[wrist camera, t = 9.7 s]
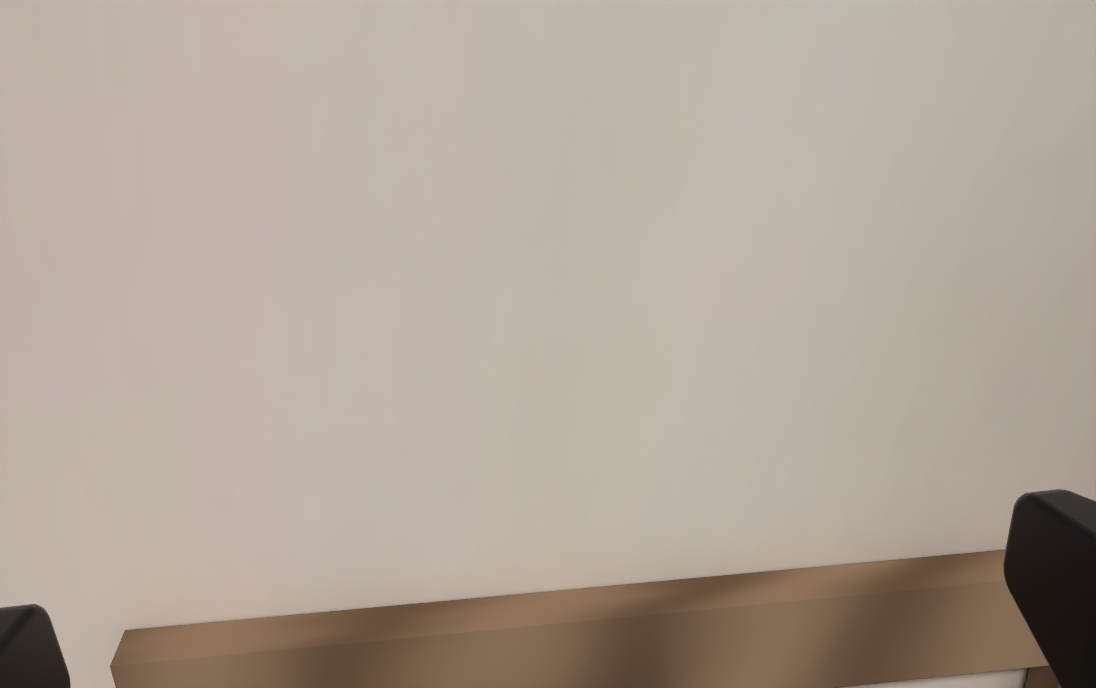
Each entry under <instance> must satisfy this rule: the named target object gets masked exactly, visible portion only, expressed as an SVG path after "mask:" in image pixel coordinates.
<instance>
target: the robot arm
mask: <svg viewBox="0 0 1096 688" xmlns="http://www.w3.org/2000/svg"><path fill="white" fill-rule="evenodd" d="M1003 570H1004V577H1005V581H1006V584H1007V587H1008V589H1009V591H1010V593H1011V595H1012V597H1013V599H1014V601H1015V603H1016V605H1017V606H1018V608H1019V610H1020V612H1021V614H1022V616H1023V618H1024V619H1025V621H1026V623H1027V625H1028V627H1029V629H1030V631H1031V633H1032V634H1033V636H1034V638H1035V640H1036V642H1037V644H1038V646H1039V648H1040V649H1041V651H1042V653H1043V655H1044V657H1045V659H1046V661H1047V662H1048V664H1049V666H1050V668H1051V670H1052V672H1053V674H1054V676H1055V677H1056V679H1057V681H1058V683H1059V685H1060V687H1061V688H1096V501H1093V500H1091V499H1088V498H1086V497H1083V496H1080V495H1078V494H1075V493H1073V492H1070V491H1067V490H1060V489H1058V490H1048V491H1040V492H1031V493H1025V494H1024V495H1022V496H1020V497H1019V498H1018V500H1017V501H1016V503H1015V505H1014V509H1013V514H1012V519H1011V524H1010V530H1009V535H1008V540H1007V545H1006V551H1005V556H1004V563H1003ZM0 688H70V677H69V673H68V670H67V667H66V664H65V661H64V658H63V655H62V652H61V649H60V646H59V643H58V640H57V637H56V634H55V631H54V628H53V625H52V622H51V620H50V617H49V615H48V613H47V612H46V611H45V609H44V608H43V607H41V606H38V605H36V604H30V605H21V606H12V607H3V608H0Z"/></svg>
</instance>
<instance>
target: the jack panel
mask: <svg viewBox="0 0 1096 688" xmlns="http://www.w3.org/2000/svg"><path fill="white" fill-rule="evenodd" d="M1005 551H1006V550H997V551H986V552H975V553H964V554H953V555H942V556H932V557H921V558H910V559H899V560H888V561H877V562H866V563H855V564H844V565H833V566H822V567H811V568H801V569H790V570H779V571H768V572H757V573H746V574H735V575H724V576H713V577H702V578H691V579H680V580H670V581H659V582H648V583H637V584H626V585H615V586H604V587H593V588H582V589H571V590H560V591H550V592H539V593H528V594H517V595H506V596H495V597H484V598H473V599H462V600H451V601H440V602H429V603H419V604H408V605H397V606H386V607H375V608H364V609H353V610H342V611H331V612H320V613H309V614H298V615H288V616H277V617H266V618H255V619H244V620H233V621H222V622H211V623H200V624H189V625H178V626H167V627H157V628H146V629H135V630H125V632H124V634H123V636H122V639H121V641H120V644H119V646H118V648H117V651H116V653H115V656H114V658H113V660H112V663H111V665H110V668H111V671H112V675H113V679H114V682H115V686H116V688H838V687H847V686H857V685H866V684H876V683H885V682H895V681H904V680H914V679H923V678H933V677H942V676H952V675H962V674H971V673H981V672H990V671H1000V670H1009V669H1019V668H1028V667H1030V669H1029V673H1028V677H1027V681H1026V685H1025V688H1061V687H1060V685H1059V683H1058V681H1057V679H1056V677H1055V676H1054V674H1053V672H1052V670H1051V668H1050V666H1049V664H1048V662H1047V661H1046V659H1045V657H1044V655H1043V653H1042V651H1041V649H1040V648H1039V646H1038V644H1037V642H1036V640H1035V638H1034V636H1033V634H1032V633H1031V631H1030V629H1029V627H1028V625H1027V623H1026V621H1025V619H1024V618H1023V616H1022V614H1021V612H1020V610H1019V608H1018V606H1017V605H1016V603H1015V601H1014V599H1013V597H1012V595H1011V593H1010V591H1009V589H1008V587H1007V584H1006V581H1005V577H1004V570H1003V563H1004V556H1005Z"/></svg>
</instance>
